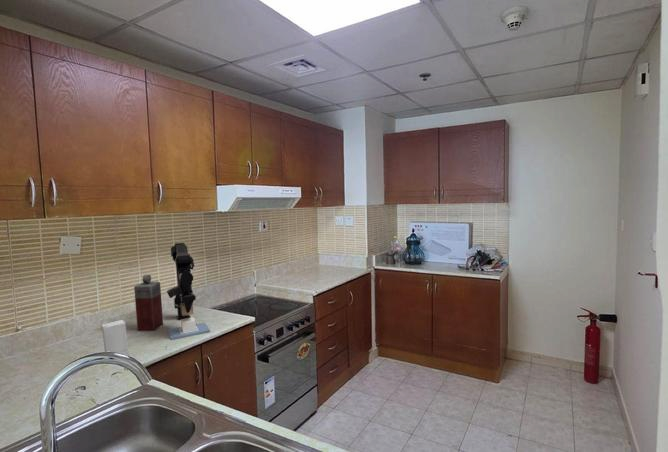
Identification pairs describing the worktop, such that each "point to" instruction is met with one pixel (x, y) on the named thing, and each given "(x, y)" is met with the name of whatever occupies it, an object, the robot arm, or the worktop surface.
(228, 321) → the worktop surface
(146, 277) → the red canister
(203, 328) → the board
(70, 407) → the worktop surface
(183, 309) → the walnut block
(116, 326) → the skincare box
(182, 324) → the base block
